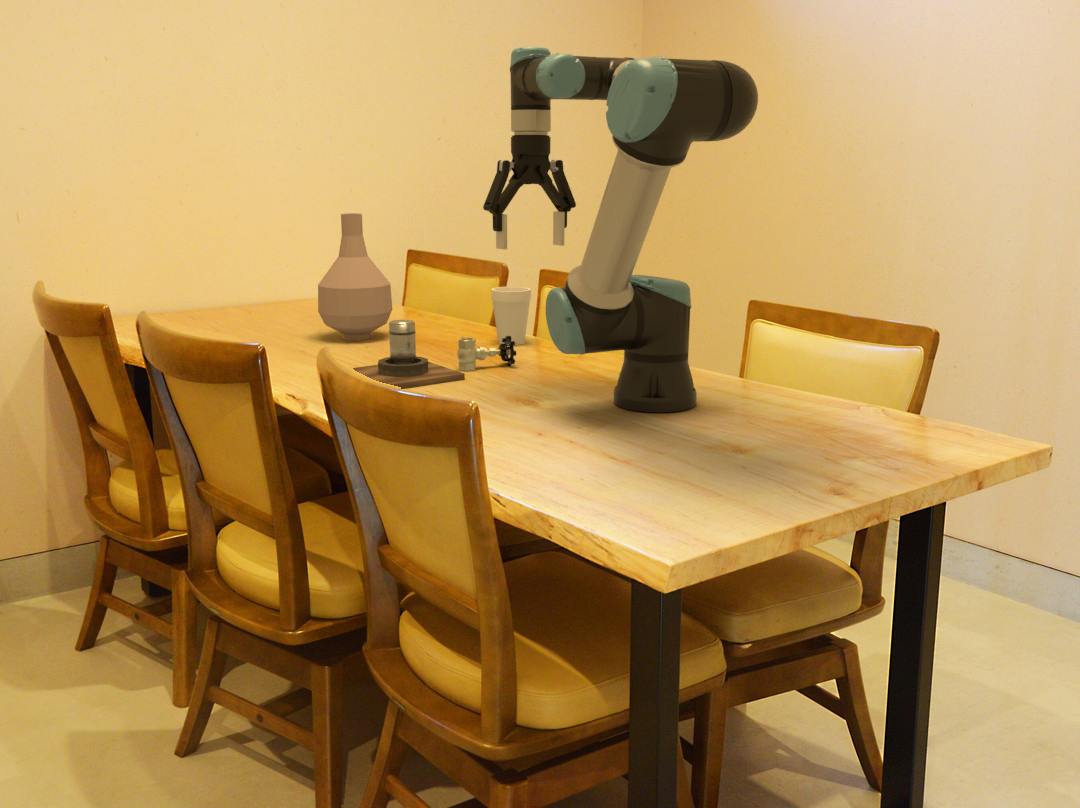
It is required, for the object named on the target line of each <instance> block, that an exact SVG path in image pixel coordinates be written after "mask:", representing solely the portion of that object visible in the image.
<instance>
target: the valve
mask: <svg viewBox="0 0 1080 808" xmlns="http://www.w3.org/2000/svg"><path fill="white" fill-rule="evenodd" d="M502 342H504V344H499V346H498V348H497V349H496V348H495V347H489V348H488V349H487V348H485V347H484V346H483V345H481V346H477V347H476V345H477V344H476V338H474V337H459V339H458V349H457V353H456V355H457V360H458V361H459V362H458V370H459V371H460V372H461V371H463V372H471V371H472V372H473V371H475V370H476V369H477V362H476V360H479V361H484V360H485V359H486V358H488V357H489V358H492V357H497V355H498V356H499V357H500V359H501V360H502V362H505V366H506V367H511V366H512V365H515V364H516V360H515V358H514V357H516V356H517V351H516V350H515V348H514V347H516V346H515V342H514V341H511V336H506V337H505V338H502ZM508 344H509V346H508Z"/></svg>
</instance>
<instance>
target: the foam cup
mask: <svg viewBox="0 0 1080 808" xmlns="http://www.w3.org/2000/svg"><path fill="white" fill-rule="evenodd" d="M490 290H491V293H490V294H491V300H492V306H493V307H492V308H493V314H494V321H495V329H496V334H497V344H499V345H500V344H504V342H502V338H505V337H506V336H511V341H514V342H515V345H517V346H522V345H521V344H523V345H525V343H526V337H527V336H526V335H527V326H528V318H529V309H530V303H531V302H530V301H531V299H532V289H531V288H529V287H526V286H524V287H523V286H498V287H492V288H491V289H490ZM508 345H509V344H508Z"/></svg>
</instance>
